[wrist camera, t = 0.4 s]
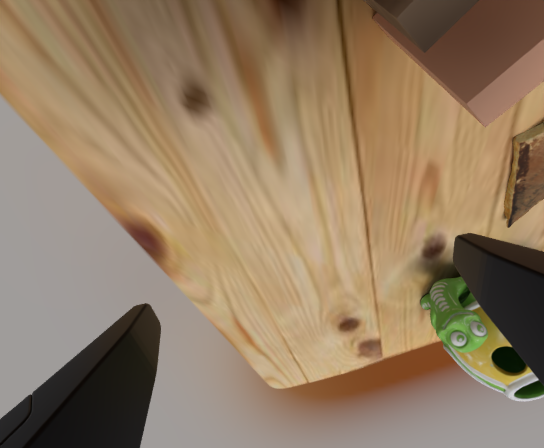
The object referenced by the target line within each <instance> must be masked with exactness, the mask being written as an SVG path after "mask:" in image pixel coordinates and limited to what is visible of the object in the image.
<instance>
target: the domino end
mask: <svg viewBox="0 0 544 448" xmlns="http://www.w3.org/2000/svg"><path fill="white" fill-rule="evenodd" d="M372 18H373V20H374V21H375V22H376V23H377V24H378V25H379V26H380V28H381V29H382V30H383V31H384V32H385V33H386V35H387V36H388V37H389V38H390V39H391V40H392V41H393V42H394V43H396V44H397V45H398V46H399V47H400V48H401V49H402V50H403V51H404V52H405V53H406V54H407V55H408V56H409V57H411V58H412V59H413V60H414V61H415V62H416V63H417V64H418V65H419V66H420V67H421V68H422V69H423V70H424V71H426V72H427V73H428V74H429V75H430V76H431V77H432V78H433V79H434V80H435V81H436V82H437V83H438V84H439V85H441V86H442V87H443V88H444V89H445V90H446V91H447V92H448V93H449V94H450V95H451V96H452V97H453V98H454V99H456V100H457V101H458V102H459V103H460V104H461V105H462V106H463V107H464V108H465V109H466V110H467V111H468V112H469V113H470V114H472V115H473V116H474V117H475V118H476V119H477V120H478V121H479V122H480V123H481V124H482V125H483V126H484V127H486V126H488V125H489V124H490V123H491V122H493V121H494V120H495V119H496V118H498V117H499V116H500V115H502V114H503V113H504V112H505V111H507V110H508V109H509V108H510V107H512V106H513V105H514V104H516V103H517V102H518V101H519V100H521V99H522V98H523V97H524V96H526V95H527V94H528V93H529V92H531V91H532V90H533V89H535V88H536V87H537V86H538V85H540V84H541V83H542V82H543V81H544V0H479V1H478V2H477V3H476V4H475V5H474V6H473V7H472V8H471V9H470V10H469V11H468V12H467V13H466V14H465V15H464V16H463V17H462V18H460V19H459V20H458V21H457V22H456V23H455V24H454V25H453V26H452V27H451V28H450V29H449V30H448V31H447V32H446V33H445V34H444V35H443V36H442V37H441V38H440V39H439V40H438V41H437V42H436V43H435V44H434V45H433V46H432V47H431V48H429V49H428V50H427V51H426V52H425V53H424V52H423V51H422V50H420V49H419V48H418V47H417V46H416V45H415V44H414V43H412V42H411V41H410V40H409V39H408V38H407V37H405V36H404V35H403V34H402V33H401V32H400V31H398V30H397V29H396V28H395V27H394V26H393V25H391V24H390V23H389V22H388V21H387V20H386V19H385V18H383V17H382V16H381V15H380V14H379V13H378V12H377V13H376V14H375V15H374V16H373V17H372Z"/></svg>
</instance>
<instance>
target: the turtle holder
mask: <svg viewBox="0 0 544 448" xmlns="http://www.w3.org/2000/svg"><path fill="white" fill-rule="evenodd" d="M421 306H422V308H424V309H425V310H428V309H431V312H430V318H431V323H432V326H433V327H434V329H435V330H436V333H437V335H438V337H439V338H440V339H441V340H442V342H443V344H444V345H443V348H444V349H445V350H446V351H447V352H448V353H449V354H450V355H451V356H452V358H453V359H454V360H455V361H456V362H457V363H458V365H460V367H462V369H464V371H465V372H467V373H468V374H469V375H470V376H472V377H473V378H474V379H475V380H477V381H478V382H480V383H482V384H484V385H486V386H488V387H490V388H492V389H494V390H496V391H498V392H501V393H504V394H505V395H506V396H507V397H508V398H510V399H512V400H516V401H531V400H535V399H539V398H542V397H544V386H543V384H542V383H541V382H540V381H539V379H538V378H537V377H536V376H535V374H534V373H533V372H532V371H531V369H530V368H529V367H528V366H527V364H526V363H525V362H524V361H523V359H522V358H521V357H520V356H519V354H518V353H517V352H516V351H515V349H514V348H513V347H512V346H511V344H510V343H509V342H508V341H507V339H506V338H505V337H504V336H503V334H502V333H501V332H500V331H499V329H498V328H497V327H496V326H495V324H494V323H493V322H492V321H491V319H490V318H489V317H488V316H487V314H486V313H485V312H484V311H483V309H482V308H481V307H480V305H479V304H478V302H477V301H476V299H475V298H474V296H473V295H472V293H471V291H470V290H469V288H468V287H467V285H466V283H465V282H464V280H463V278H462V277H458V278H446V279H442V280H439V281H437V282H436V283H435V284H434V285H433V286H432V288H431V290H430V293H429V294H427V295H425V296H424V297H423V298H422V299H421Z"/></svg>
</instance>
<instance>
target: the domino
mask: <svg viewBox="0 0 544 448" xmlns="http://www.w3.org/2000/svg"><path fill="white" fill-rule="evenodd" d="M364 1H365V2H366V3H367V4H368V5H369V6H371V7H372V8H373V9H374V10H375V11H376V12H378V13H379V14H380V15H381V16H382V17H383V18H385V19H386V20H387V21H388V22H389V23H390V24H391V25H393V26H394V27H395V28H396V29H397V30H398V31H400V32H401V33H402V34H403V35H404V36H405V37H407V38H408V39H409V40H410V41H411V42H412V43H414V44H415V45H416V46H417V47H418V48H419V49H420V50H422V51H423V52H424V53H425V52H426V51H427V50H428V49H429V48H431V47H432V46H433V45H434V44H435V43H436V42H437V41H438V40H439V39H440V38H441V37H442V36H443V35H444V34H445V33H446V32H447V31H448V30H449V29H450V28H451V27H452V26H453V25H454V24H455V23H456V22H457V21H458V20H459V19H460V18H462V17H463V16H464V15H465V14H466V13H467V12H468V11H469V10H470V9H471V8H472V7H473V6H474V5H475V4H476V3H477V2H478V1H479V0H364Z"/></svg>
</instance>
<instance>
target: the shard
mask: <svg viewBox="0 0 544 448" xmlns="http://www.w3.org/2000/svg"><path fill="white" fill-rule="evenodd" d="M513 146H514V161H513V163H512V172H511V175H510V178H509V181H508V186H507V191H506V197H505V201H504V208H505V211H504V213H505V216H506V218H507V219H508V220H507V228H509V227H510V226H511V225H512V224H513V223H514V222H515V221H516V220H518V219H519V218H520V217H522V216H523V215H524V214H526V213H527V212H528V211H529V210H530V209H531V208H532V207H533V206H535V205H536V204H537V203H538V202H540V201H541V200H543V199H544V122H543V123H541V124H540V125H538V126H536V127H534V128H532V129H530V130H527V131H525V132H524V133H521V134H519V135H518V136H516V137H514V140H513Z"/></svg>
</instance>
